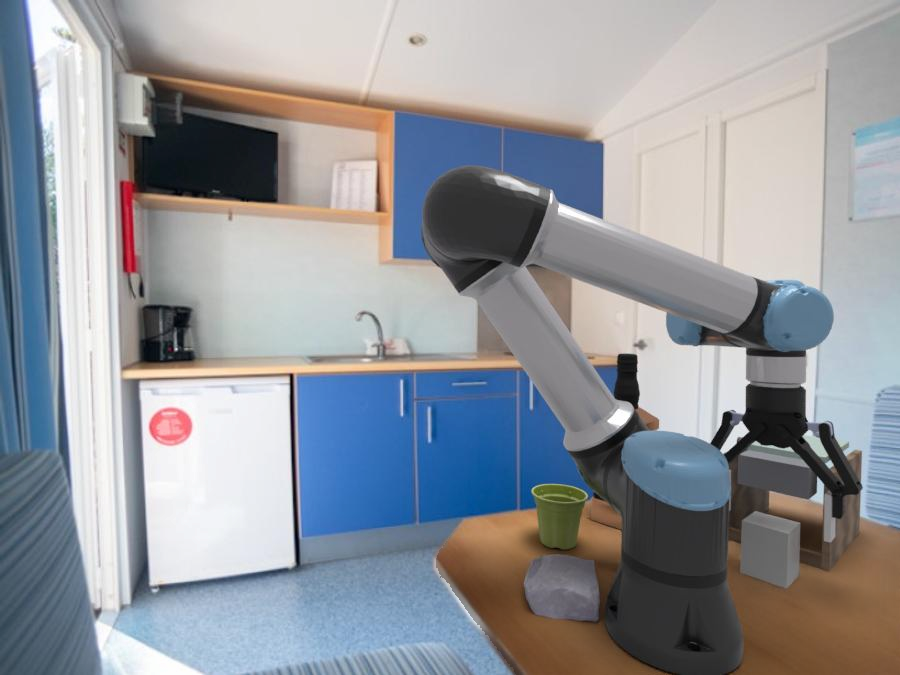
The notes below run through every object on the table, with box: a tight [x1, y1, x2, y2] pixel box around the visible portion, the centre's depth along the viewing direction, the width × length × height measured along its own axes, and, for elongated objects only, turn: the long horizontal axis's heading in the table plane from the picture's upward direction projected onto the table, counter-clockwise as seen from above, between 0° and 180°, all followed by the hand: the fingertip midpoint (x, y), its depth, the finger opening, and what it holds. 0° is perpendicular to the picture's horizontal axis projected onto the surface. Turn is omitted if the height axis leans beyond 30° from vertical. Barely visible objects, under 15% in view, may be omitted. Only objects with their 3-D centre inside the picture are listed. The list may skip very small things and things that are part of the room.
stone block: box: [523, 553, 601, 623], centre depth 68 cm, size 12×5×10 cm
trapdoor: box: [738, 434, 850, 500], centre depth 87 cm, size 22×12×6 cm, turn 131°
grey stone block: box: [739, 511, 801, 590], centre depth 74 cm, size 6×6×8 cm
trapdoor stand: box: [723, 436, 863, 572], centre depth 88 cm, size 22×15×17 cm
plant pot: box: [531, 483, 589, 551], centre depth 84 cm, size 9×9×9 cm
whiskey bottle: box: [588, 353, 660, 531], centre depth 94 cm, size 10×10×32 cm
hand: (773, 524), depth 74 cm, fingers open, 13 cm apart
